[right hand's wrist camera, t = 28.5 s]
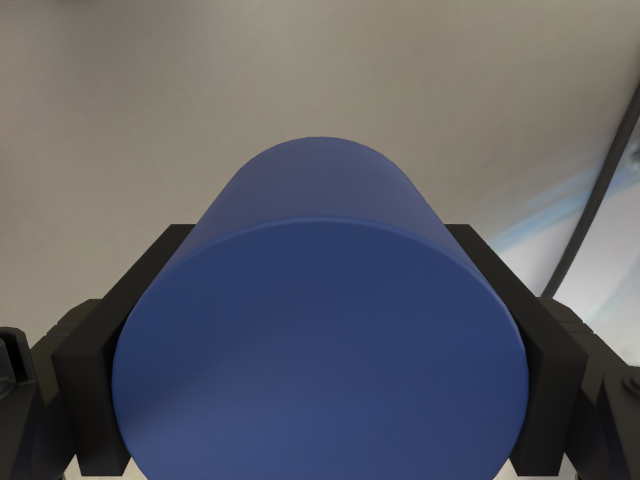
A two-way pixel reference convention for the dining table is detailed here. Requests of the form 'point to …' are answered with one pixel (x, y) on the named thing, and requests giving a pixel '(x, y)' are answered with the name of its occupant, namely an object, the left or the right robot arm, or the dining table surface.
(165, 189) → the dining table surface
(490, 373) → the canister
